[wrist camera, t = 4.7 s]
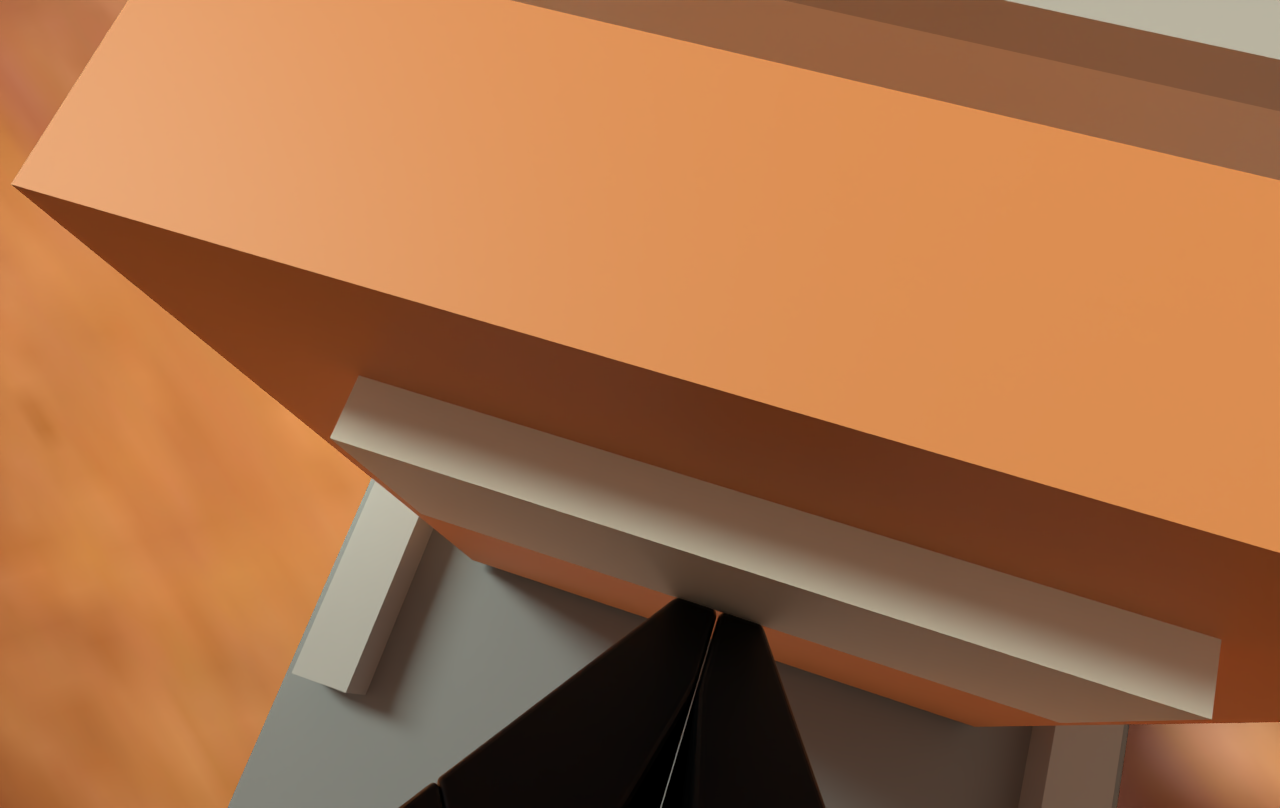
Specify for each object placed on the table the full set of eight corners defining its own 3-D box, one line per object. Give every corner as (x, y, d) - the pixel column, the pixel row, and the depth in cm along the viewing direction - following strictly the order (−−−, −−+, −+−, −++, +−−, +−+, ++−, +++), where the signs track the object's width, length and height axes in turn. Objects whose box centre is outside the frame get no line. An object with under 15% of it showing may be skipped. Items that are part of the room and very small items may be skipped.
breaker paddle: (968, 757, 15) (1839, 835, 4) (461, 586, 16) (-36, 259, 5) (997, 609, 16) (1795, 301, 4) (512, 458, 17) (177, -78, 6)
